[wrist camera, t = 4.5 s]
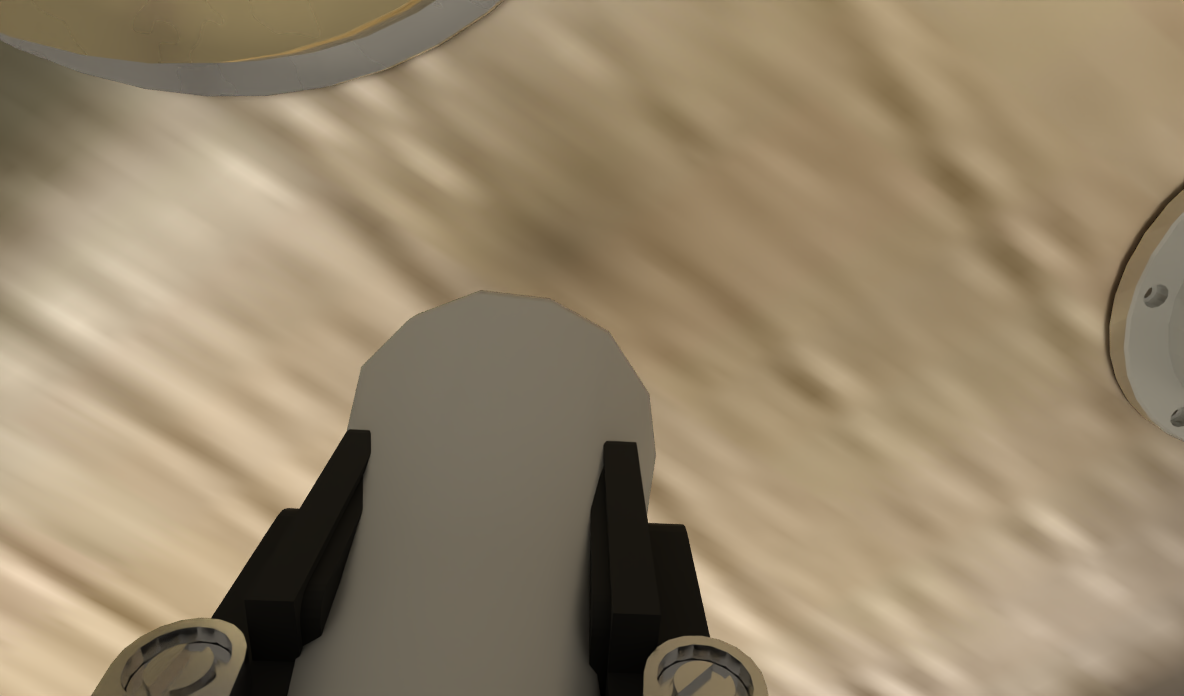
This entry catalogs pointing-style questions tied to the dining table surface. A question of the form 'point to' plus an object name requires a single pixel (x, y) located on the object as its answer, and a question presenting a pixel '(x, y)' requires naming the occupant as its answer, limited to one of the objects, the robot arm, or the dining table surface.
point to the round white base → (284, 58)
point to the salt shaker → (478, 504)
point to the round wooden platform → (199, 26)
